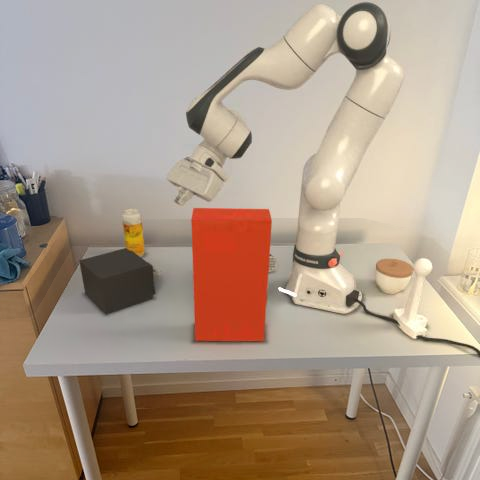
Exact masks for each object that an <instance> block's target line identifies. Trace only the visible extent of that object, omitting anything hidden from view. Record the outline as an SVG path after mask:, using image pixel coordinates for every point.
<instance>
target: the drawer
mask: <svg viewBox="0 0 480 480" xmlns="http://www.w3.org/2000/svg"><path fill="white" fill-rule="evenodd" d="M131 252H132V253H134V252H133V251H131ZM134 254H135V255H136V256H138V255H137V254H136V253H134ZM138 257H139V258H140V259H142V260H143V261H145V262H146V263H147V264H149V267H150V279H151V290H152V295H155V294H156V289H155V288H156V287H155V286H156V285H155V276H161V275H162V274H163V271H162V270H161V269H160V268H158V267H156V265H154V264H152V262H150V261H147V260H145V259H144V258H142V256H138Z"/></svg>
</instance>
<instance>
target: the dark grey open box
mask: <svg viewBox="0 0 480 480" xmlns="http://www.w3.org/2000/svg"><path fill="white" fill-rule="evenodd" d="M142 259H143V258H142ZM142 259H140V258H139V257H138V256H136V255H135V254H134V253H132V252H131V251H130V250H128V249H127V248H126V247H123V248H120V249H117V250H113V251H109V252H105V253H100V254H98V255H94V256H91V257H86V258H83V259H79V260H78V262H79V267H80V273H81V279H82V283H83V289H84V294H85V295H86V296H87V297H88V299H90V300H91V301H92V302H93V303H94V304H95V305H96V306H97V307H98V308H99V309H100V310H101V311H102V313H104V314H105V315H108V314H109V315H110V314H111V313H114V312H118V311H120V310H124V309H126V308H129V307H132V306H136V305H138V304H141V303H144V302H147V301H150V300H152V299H153V294H152V290H151V279H150V267H149V264H147V263H146V262H145V261H146V260H145V261H143V260H142Z"/></svg>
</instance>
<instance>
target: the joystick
mask: <svg viewBox="0 0 480 480" xmlns="http://www.w3.org/2000/svg"><path fill="white" fill-rule="evenodd" d="M412 267H413V273H414V274H415V276H414V279H413V282H412V285H411V289H410V292H409V294H408V298H407V301H406V304H405V307H400V308H395V309H394V310H393V315H392V319H394V320H396V321H398V323H399V325H400V326H399V325H397V327H398V328H399V329H400V330H401V331H402V332H403V333H404V334H406V335H407V336H409V338H411V339H417V338H416V336H418V335H419V336H423V337H426V335H427V331H428V329H427V327H426V326H427V323H428V321H429V320H428V318H427V317H426V316H425V315H423V314H418V309H419V305H420V301H421V296H422V291H423V288H424V282H425V279H426V277H427V276H428V275H430V273H432V271H433V263H432V262H431V260H430V259H428V258H427V257H426V258H425V257H422V258H421V257H420V258H418V259H416V260H415V261H414V263H413V265H412Z"/></svg>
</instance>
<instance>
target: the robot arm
mask: <svg viewBox="0 0 480 480" xmlns="http://www.w3.org/2000/svg"><path fill="white" fill-rule="evenodd" d="M390 41H391V23H390V19H389V17H388V16H387V14H386V13H385V11H384V10H382V8H381V7H380V6H379V5H377V4H375V3H374V2H369V1H364V2H363V1H362V2H359V3H355V4H354V5H352V6H351V7H349V8H348V9H347V10H346V11H345V12H344V13H343V14H342V15H340V14H338V12H336V11H335V9H333V8H332V7H330V6H329V5H327V4H324V3H317V4H315V5H312V7H310V8H309V9H308V10H307V11H306V12H304V13H303V14H302V15H301V16H300V17H298V19H297V20H296V21H295V22H294V23H293V25H292V26H290V28H289V29H288V30H287V31H286V32H285V34H284V35H283V36H282V37H281V38H280V39H279V40H278V41H276V43H274V44H272V45H271V46H268V47H260V46H258V47H256V48H254V49H252V50H251V51H249V52H248V53H247V54H245V55H244V56H243V57H242V58H241V59H240V60H238V62H236V63H235V64H234V65H233V66H232V67H231V68H230V69H228V70H227V71H226V72H225V73H224V74H223V75H221V76H220V78H219V79H217V80H216V81H215V82H214V83H213V84H212V85H211V86H210V87H209V88H207V89H206V90H204V92H202V93H200V94H199V95H198V96H196V97H195V98H194V99H193V100H192V101H191V102H190V104H189V105H188V107H187V109H186V112H185V118H186V122H187V125H188V128H189V129H190V130H192V131H193V132H195V134H197V135H198V136H201V137H202V138H203V140H202V141H201V142H200V143H199V144H198V145H197V147H196V148H195V149H194V151H193V152H192V153H191V156H186V157H185V158H182V159H180V160H179V161H177V162H176V163H175V164H174V165H173V166H172V168H171V169H170V171H169V172H168V173H167V175H166V180H167V181H168V182H169V183H170V184H171V185H173V186H174V187H177V190H176V196H175V197H174V198H173V202H174V203H175V204H177V205H179V206H181V207H183V206H184V205H185V204H186V202H188V201H189V200H191V199H192V198H194V196H196V197H197V198H199V199H201V200H204V201H206V202H208V203H210V202H212V201H213V200H214V199H215V198H216V197H217V196H218V195H219V193H220V191H221V189H222V188H223V186H224V183H226V182H227V181H228V179H229V177H230V176H229V174H228V173H227V172H226V170H225V169H224V168H223V166H224V165H225V163H226V160H227V158H228V159H229V160H231V159H232V160H235V159H237V160H238V159H241V158H242V157H243V156H244V155H245V153H246V151H247V150H248V149H249V147H250V146H251V144H252V143H253V134H252V130H251V129H250V128H249V126H248V124H247V121H246V119H245V117H244V116H243V115H242V114H241V113H239V112H238V111H236V110H234V109H229V108H228V107H226V105H224V103H223V102H222V101H223V100H224V99H225V98H226V97H227V96H229V95H230V94H231V93H232V92H234V90H236V89H237V88H238V87H239V86H240V85H241V84H243V83H244V82H247V81H257V82H261V83H264V84H267V85H269V86H271V87H272V88H273V87H274V88H277V89H279V90H283V91H285V90H286V91H292V90H297V89H299V88H301V87H303V85H305V84H306V83H307V82H308V81H309V80H310V79H311V78H312V77H313V76H314V75H315V73H317V72H318V70H319V69H320V68H321V67H322V66H323V65H324V64H325V62H326V61H327V60H328V59H330V58H331V57H332V56H335V55H337V54H341V55H342V56H344V57H345V58H346V60H347V61H348V62H349V63H350V64H351V65H352V67H353V68H354V69H355V75H354V78H353V80H352V83H351V84H350V86H349V88H348V89H347V91H346V93H345V95H344V97H343V99H342V101H341V103H340V104H339V106H338V108H337V110H336V112H335V114H334V115H333V117H332V119H331V121H330V123H329V125H328V126H327V128H326V131H325V134H324V135H323V138H322V140H321V143H320V144H319V147H318V149H317V152H315V153H313V154H312V155H311V156H310V157H309V158H308V159H307V160H306V161H305V163H304V165H303V167H302V172H301V173H302V174H301V186H300V195H299V196H300V197H299V206H298V217H297V227H296V228H297V229H296V238H295V244H294V245H293V250H292V268H291V272H290V275H289V278H288V281H287V283H286V286H285V289H284V288H282V287H278V290H279V292H282V293H285V294H288V295H289V297H291V299H292V302H293V304H296V305H299V306H304V307H309V308H314V309H318V310H322V311H327V312H332V313H336V314H338V313H339V314H341V315H342V314H343V315H345V314H349V313H352V312H354V311H355V310H356V309H357V308H358V307H359V306H361V307H362V309H363V311H364V313H366V314H368V315H369V316H373V317H376V318H379V319H383V320H387V321H390V322H392V323H394V324H395V325H396V326H398V325H399V323H398V321H396V320H394V319H393V317H390V316H386V315H380V314H376V313H374V312H371V311H369V310H368V308H367V306H366V304H365V303H364V302H362V300H363V293H362V292H361V291H360V290H359V289H357V287H356V279H355V277H354V275H353V273H352V274H351V272H350V271H349V270H348V269H346V267H345V266H344V265H343V264H342V263H341V262H340V261H341V257H342V256H343V251H341V252H339V253H338V251H337V249H336V243H337V237H338V229H339V224H340V223H339V222H340V210H341V203H342V201H343V200H344V197H345V195H346V193H347V190H348V188H349V187H350V185H351V183H352V181H353V179H354V177H355V175H356V174H357V171H358V168H359V167H360V164H361V163H362V160H363V158H364V156H365V154H366V152H367V149H368V148H369V146H370V145H371V144H372V143H371V142H372V141H373V140H374V138H375V136H376V135H377V133H378V131H379V130H380V128H381V127H382V124H383V123H384V122H385V120H386V118H387V117H388V115H389V113H390V111H391V109H392V107H393V105H394V104H395V102H396V100H397V97H398V95H399V94H400V90H401V88H402V86H403V83H404V80H405V71H404V69H403V67H402V65H401V64H400V63H399V61H397V60H396V59H394V58H393V57H392V56H390V55H389V53H388V47H389V44H390ZM399 326H400V325H399ZM416 339H419V340H422V341H429V342H440V343H447V344H451V345H455V346H459V347H465V348H467V349H470V350H471V351H474V352H475V353H477V355H479V356H480V349H479V348H477V347H475V346H474V345H472V344H468V343H464V342H459V341H455V340H451V339H445V338H438V337H437V338H435V337H426V336H422V335H418V336H416Z"/></svg>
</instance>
